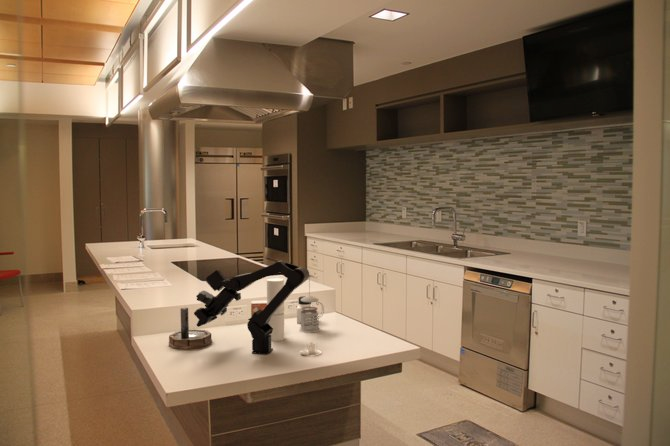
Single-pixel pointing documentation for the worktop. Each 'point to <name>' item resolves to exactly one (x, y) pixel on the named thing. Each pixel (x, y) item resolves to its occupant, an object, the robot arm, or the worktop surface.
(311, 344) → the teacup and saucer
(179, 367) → the worktop surface
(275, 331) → the cylindrical container
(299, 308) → the medicine bottle
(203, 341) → the dial housing
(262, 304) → the small box
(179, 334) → the dial
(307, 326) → the french press
